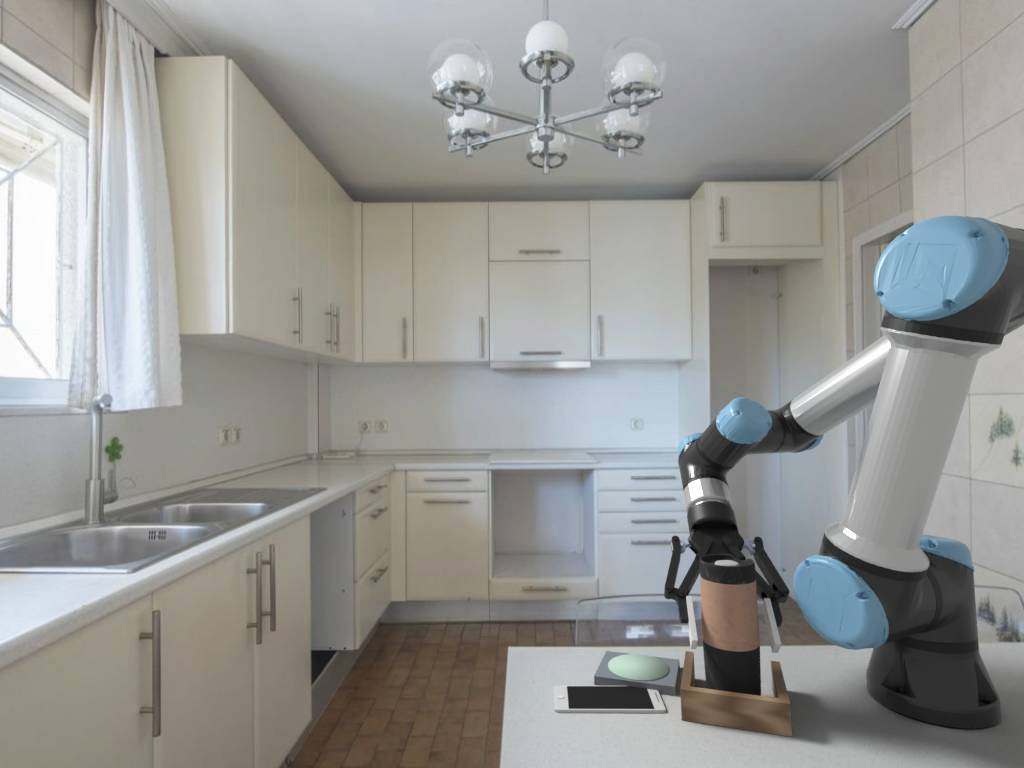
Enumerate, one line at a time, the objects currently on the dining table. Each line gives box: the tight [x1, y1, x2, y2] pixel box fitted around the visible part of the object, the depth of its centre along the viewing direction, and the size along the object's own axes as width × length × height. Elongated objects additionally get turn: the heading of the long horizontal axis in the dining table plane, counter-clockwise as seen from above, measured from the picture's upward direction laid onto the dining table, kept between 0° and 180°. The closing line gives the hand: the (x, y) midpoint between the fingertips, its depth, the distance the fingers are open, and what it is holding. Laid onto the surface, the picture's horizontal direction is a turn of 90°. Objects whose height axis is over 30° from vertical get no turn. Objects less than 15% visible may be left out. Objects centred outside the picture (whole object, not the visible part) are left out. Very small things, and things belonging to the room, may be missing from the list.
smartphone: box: [553, 685, 667, 714], centre depth 81 cm, size 7×16×1 cm, turn 87°
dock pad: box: [593, 650, 681, 696], centre depth 89 cm, size 12×10×1 cm
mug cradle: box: [679, 650, 793, 738], centre depth 79 cm, size 13×13×4 cm
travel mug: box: [699, 554, 762, 696], centre depth 80 cm, size 8×8×20 cm
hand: (735, 646), depth 77 cm, fingers open, 10 cm apart
